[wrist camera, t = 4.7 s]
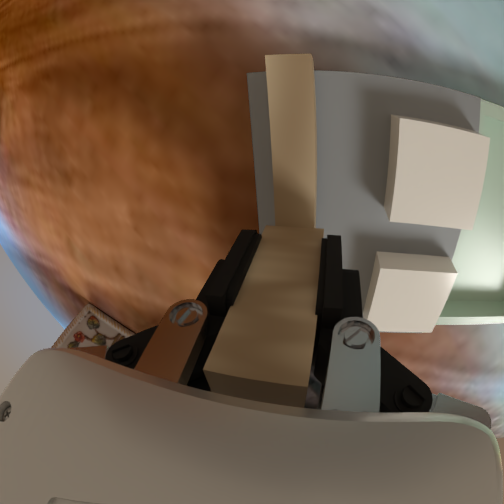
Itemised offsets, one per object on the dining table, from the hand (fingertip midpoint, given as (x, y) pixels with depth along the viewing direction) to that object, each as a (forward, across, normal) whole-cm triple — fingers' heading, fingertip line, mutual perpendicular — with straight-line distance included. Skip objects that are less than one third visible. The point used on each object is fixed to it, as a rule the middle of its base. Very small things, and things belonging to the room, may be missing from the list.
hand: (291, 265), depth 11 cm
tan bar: (+3, 0, 0) cm, 3 cm away
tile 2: (+4, -6, +4) cm, 8 cm away
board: (+7, -3, 0) cm, 7 cm away
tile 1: (+4, -6, -4) cm, 8 cm away
